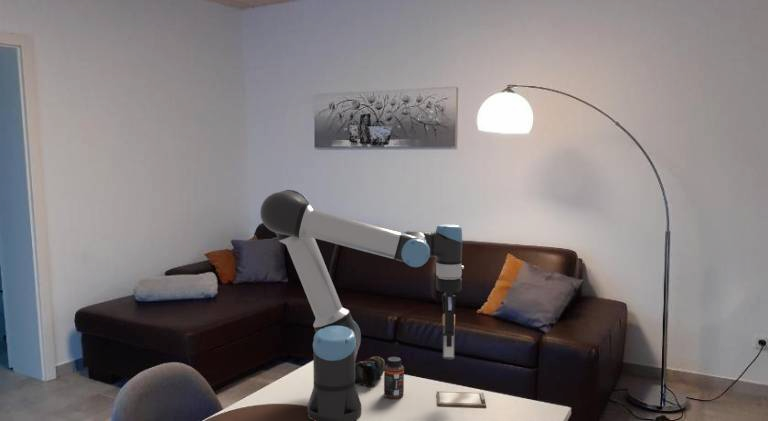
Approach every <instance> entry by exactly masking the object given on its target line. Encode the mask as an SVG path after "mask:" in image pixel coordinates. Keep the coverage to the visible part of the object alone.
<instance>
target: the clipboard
mask: <svg viewBox="0 0 768 421" xmlns="http://www.w3.org/2000/svg"><path fill="white" fill-rule="evenodd" d="M484 394H485V393H484V392H470V391H469V392H466V391H465V392H464V391H462V392H461V391H460V392H459V391H436V402H437V403H436V404H437V407H461V408H463V407H464V408H487V402H486V398H485V395H484Z"/></svg>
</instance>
